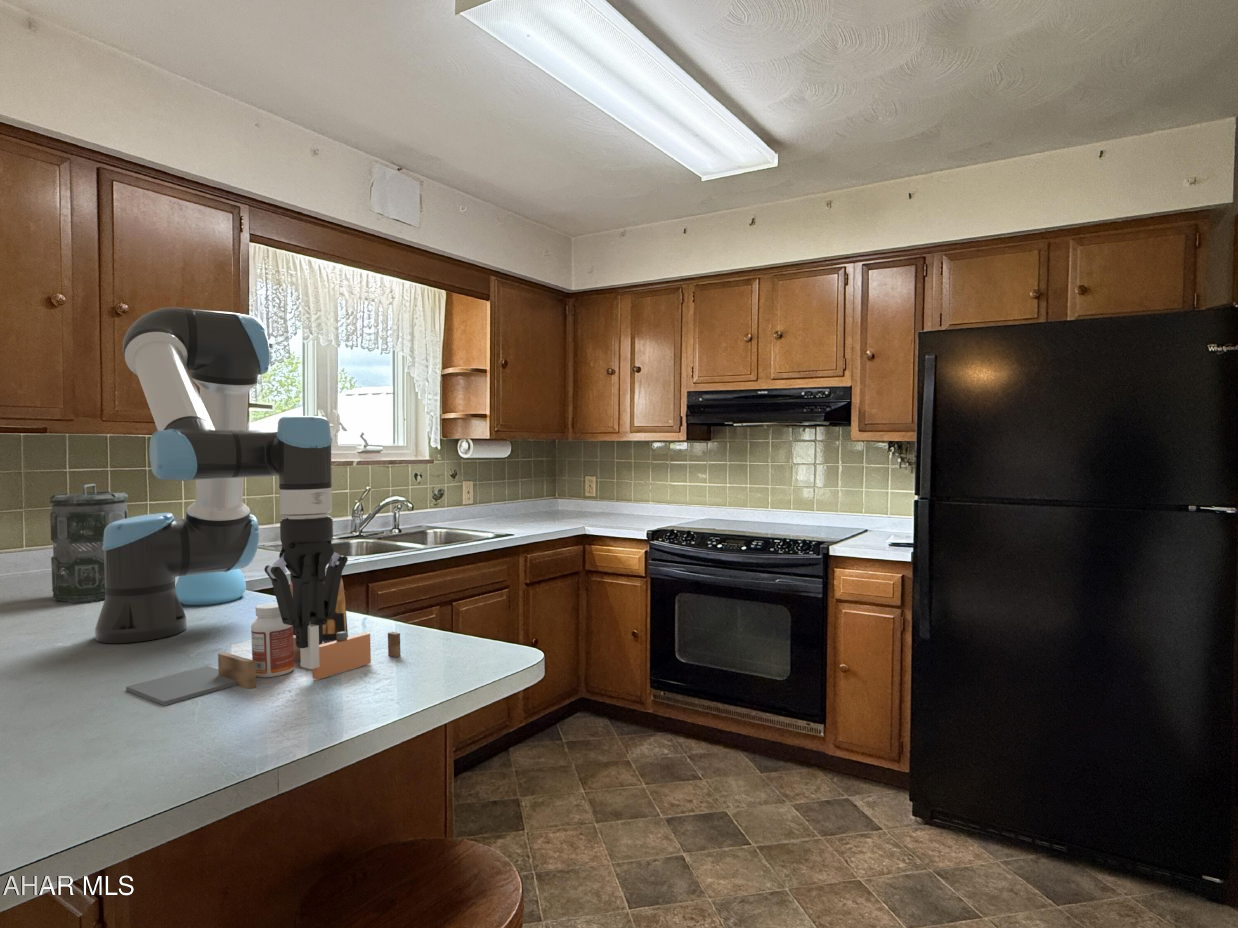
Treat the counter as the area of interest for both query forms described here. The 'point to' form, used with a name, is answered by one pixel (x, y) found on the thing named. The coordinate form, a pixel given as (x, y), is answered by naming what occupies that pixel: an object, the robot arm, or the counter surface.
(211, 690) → the mat
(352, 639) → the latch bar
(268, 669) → the pill bottle
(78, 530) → the canister
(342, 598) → the ammunition clip
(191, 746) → the counter surface
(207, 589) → the sugar bowl
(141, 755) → the counter surface
